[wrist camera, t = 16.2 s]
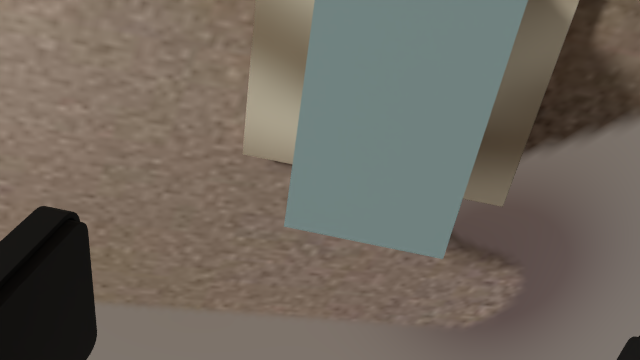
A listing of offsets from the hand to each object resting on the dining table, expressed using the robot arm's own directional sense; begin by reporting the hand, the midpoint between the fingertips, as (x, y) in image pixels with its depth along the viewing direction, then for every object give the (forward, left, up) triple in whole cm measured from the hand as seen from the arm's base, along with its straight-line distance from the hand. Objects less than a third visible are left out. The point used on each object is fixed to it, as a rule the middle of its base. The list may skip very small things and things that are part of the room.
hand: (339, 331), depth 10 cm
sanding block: (0, +1, -17) cm, 17 cm away
